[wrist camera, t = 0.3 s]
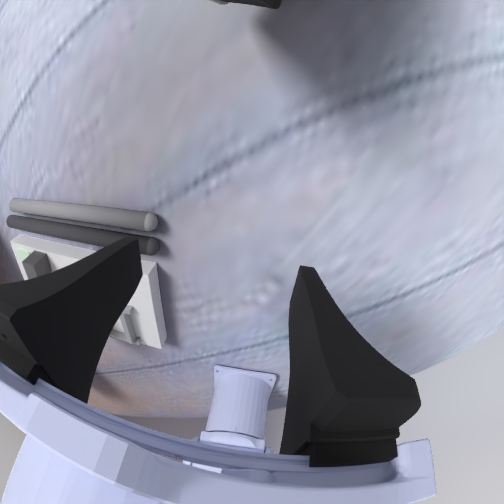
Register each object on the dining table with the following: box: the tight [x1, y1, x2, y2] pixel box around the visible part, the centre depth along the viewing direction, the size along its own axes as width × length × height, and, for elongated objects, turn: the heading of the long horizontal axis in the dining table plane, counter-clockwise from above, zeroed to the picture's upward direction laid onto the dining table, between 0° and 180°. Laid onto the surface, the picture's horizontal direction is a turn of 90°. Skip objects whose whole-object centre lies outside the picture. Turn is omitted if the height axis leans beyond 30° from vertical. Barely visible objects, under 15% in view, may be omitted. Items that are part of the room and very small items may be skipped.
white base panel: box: [10, 234, 167, 349], centre depth 26 cm, size 11×22×4 cm, turn 84°
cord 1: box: [9, 198, 158, 231], centre depth 22 cm, size 2×22×2 cm, turn 83°
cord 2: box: [6, 215, 160, 255], centre depth 23 cm, size 2×24×2 cm, turn 84°
